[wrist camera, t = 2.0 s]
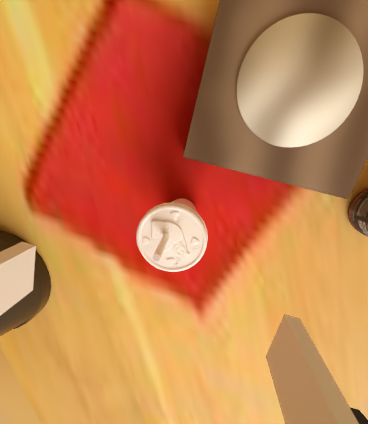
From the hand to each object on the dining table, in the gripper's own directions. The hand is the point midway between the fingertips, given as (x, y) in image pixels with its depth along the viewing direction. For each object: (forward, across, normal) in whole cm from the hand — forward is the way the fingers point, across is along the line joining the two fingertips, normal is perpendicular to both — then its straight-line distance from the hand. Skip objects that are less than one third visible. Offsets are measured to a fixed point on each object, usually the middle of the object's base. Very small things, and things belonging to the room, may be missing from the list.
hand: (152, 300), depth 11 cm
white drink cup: (+18, 0, 0) cm, 18 cm away
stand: (+18, +7, +15) cm, 24 cm away
